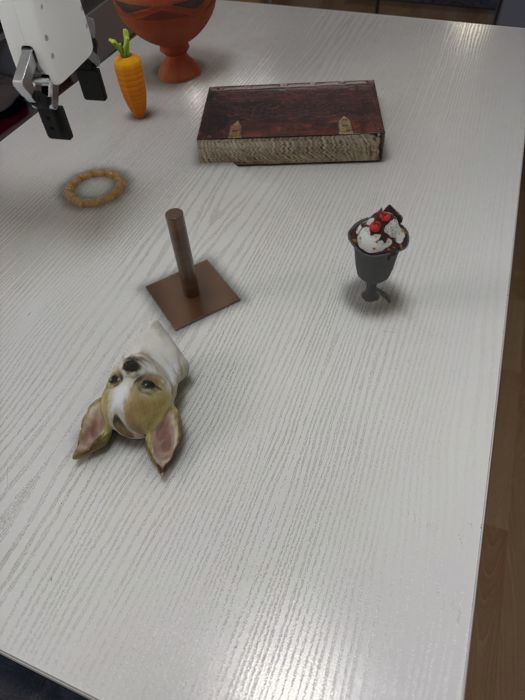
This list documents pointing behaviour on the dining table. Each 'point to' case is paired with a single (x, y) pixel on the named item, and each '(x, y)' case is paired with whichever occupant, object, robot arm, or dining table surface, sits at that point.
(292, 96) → the hardback book
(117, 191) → the ring
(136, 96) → the carrot
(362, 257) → the sundae
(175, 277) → the peg
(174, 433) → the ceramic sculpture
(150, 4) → the goblet
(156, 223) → the dining table surface
